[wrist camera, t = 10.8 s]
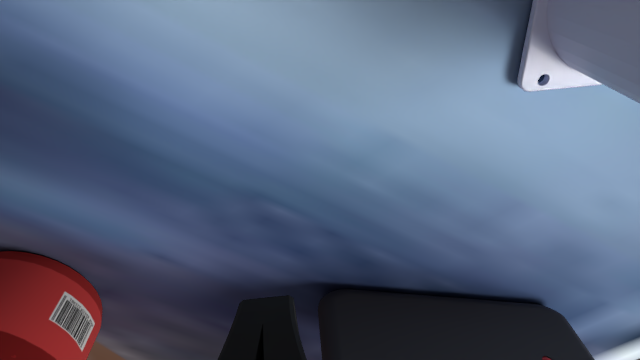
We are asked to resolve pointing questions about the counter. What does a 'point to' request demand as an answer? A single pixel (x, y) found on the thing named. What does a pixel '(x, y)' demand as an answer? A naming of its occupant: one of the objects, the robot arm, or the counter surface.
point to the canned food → (45, 309)
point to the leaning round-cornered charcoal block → (441, 329)
